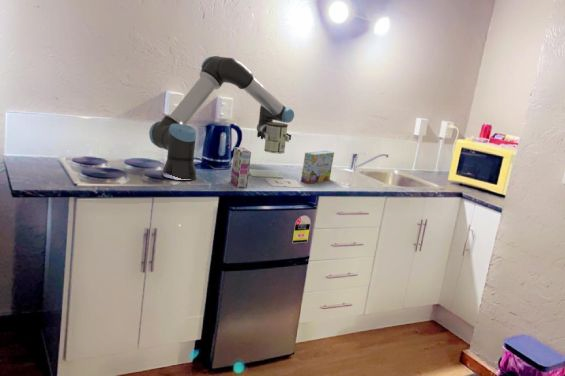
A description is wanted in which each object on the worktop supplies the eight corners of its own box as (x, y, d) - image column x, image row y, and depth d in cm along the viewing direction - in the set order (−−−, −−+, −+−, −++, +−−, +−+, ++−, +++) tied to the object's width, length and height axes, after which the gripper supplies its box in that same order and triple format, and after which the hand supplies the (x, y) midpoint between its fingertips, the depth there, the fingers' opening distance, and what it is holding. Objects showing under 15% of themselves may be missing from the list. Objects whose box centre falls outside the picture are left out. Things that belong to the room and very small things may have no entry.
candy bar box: (247, 188, 217) (251, 151, 214) (236, 187, 216) (240, 151, 212) (240, 182, 228) (244, 147, 224) (230, 181, 226) (233, 146, 222)
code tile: (271, 185, 228) (271, 185, 228) (264, 178, 243) (264, 177, 243) (304, 187, 232) (304, 187, 232) (295, 179, 247) (295, 179, 247)
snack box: (309, 184, 242) (313, 154, 238) (300, 181, 245) (304, 152, 241) (330, 179, 259) (334, 151, 256) (321, 177, 262) (325, 149, 259)
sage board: (252, 176, 242) (252, 175, 242) (246, 169, 257) (246, 168, 257) (283, 178, 247) (283, 177, 246) (275, 171, 261) (275, 170, 261)
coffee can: (265, 148, 250) (268, 121, 247) (285, 151, 249) (289, 124, 246) (262, 151, 240) (265, 122, 237) (282, 154, 239) (286, 125, 236)
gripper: (288, 140, 263) (299, 147, 242) (246, 137, 258) (254, 144, 237) (289, 126, 262) (300, 132, 241) (248, 122, 256) (255, 128, 235)
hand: (277, 138), depth 239 cm, fingers closed on coffee can, 10 cm apart
